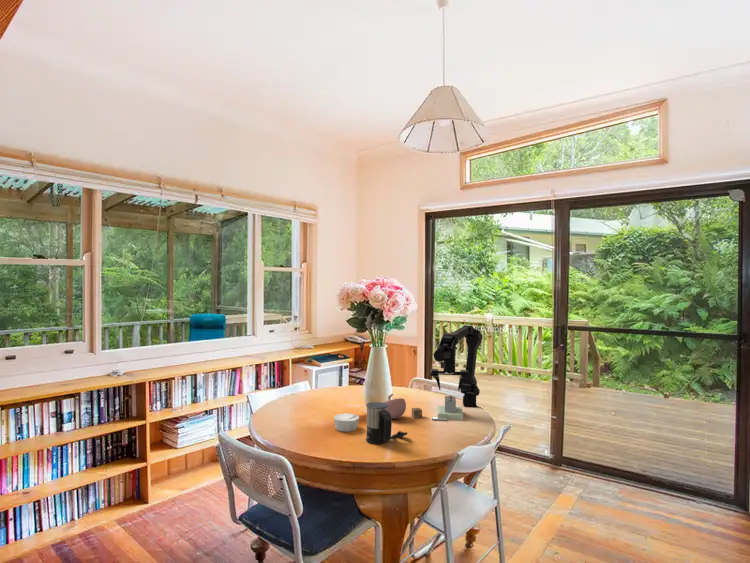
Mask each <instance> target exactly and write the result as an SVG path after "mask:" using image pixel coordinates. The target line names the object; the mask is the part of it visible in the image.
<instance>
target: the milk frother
mask: <svg viewBox="0 0 750 563" xmlns="http://www.w3.org/2000/svg"><path fill="white" fill-rule="evenodd" d="M383 402H384V401H383ZM383 402H382V401H373V402H368V403H366V404H365V405H366V438H365V441H366V442H367V443H369V444H373V445H382V444H385V443H388V441H391V440H393V439H398V438H399V439H402V438H403V437H405V436H406V435H408V432H405V431H404V432H403V431H401V430H400V431H397V432H396V433H395V434H393V435H392V423H393V419H392V418H391V415H390V413H389V412H388V404H387V403H383Z"/></svg>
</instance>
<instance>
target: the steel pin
mask: <svg viewBox="0 0 750 563" xmlns="http://www.w3.org/2000/svg"><path fill="white" fill-rule="evenodd" d="M431 418H432V419H431V420H432V421H437V422H439V421H440V422H448V420H447V418H441V417H438V416H436V417H435V416H432V417H431Z"/></svg>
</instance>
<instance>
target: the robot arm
mask: <svg viewBox="0 0 750 563" xmlns="http://www.w3.org/2000/svg"><path fill="white" fill-rule="evenodd" d="M483 337H484V336H483V334H482V333H481V331H480V330H478V329H476V328H475V327H474V326H473V325H467V324H466V325H462V327H460V328H458V329H457V330H455V331H453V332H445V333H443V334H442V336H441V339H440V341H439V344H438V346H437V347H436V348H437V349H436V350H434V352H433V359H434V360H435V362H438V363H440V369H442V370H439V368H431V369H430V370H429V371H430V374H429V375H430V377H432V379H435V381H436V383H437V386H438V390H439V391H441V382H440V375H441V376H459V380H458V386H457V389H458V391H457V392H460V394H463V396H462V406H464V407H466V408H468V407H469V408H477V397H478V396H479V395H480V393H481V392H480V391H481V390H480V389H479V386H478V381H477V378H476V376H475V374H476V365H477V364H476V363H477V356H478V350H479V348H480V346H481V345H482V341H483V339H484V338H483ZM463 338H465V343H466V346H467V356H466V363H465V369H460V370H459V371H456V350H458V346H457V345H458V344H459V343H460V340H462V339H463Z"/></svg>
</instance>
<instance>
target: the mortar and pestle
mask: <svg viewBox="0 0 750 563" xmlns="http://www.w3.org/2000/svg"><path fill="white" fill-rule="evenodd" d="M393 395H394V394H393V393H390V395H388V396H387V399H388V400H385V401H383V403H387V404H388V412H389V413H390V415H391V418H392V420H394V419H400V418H401V417H402V416H404V414H405V412H406V410H407V402H406V399H405V398H402V397H400V398H394V399H391V398H392V397H393Z"/></svg>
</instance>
